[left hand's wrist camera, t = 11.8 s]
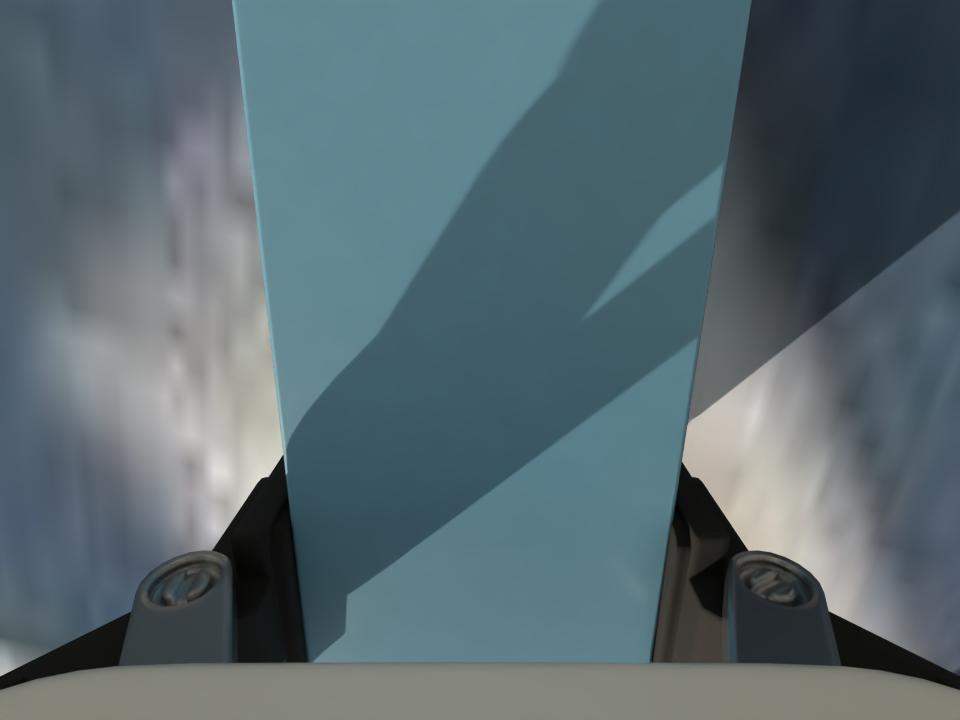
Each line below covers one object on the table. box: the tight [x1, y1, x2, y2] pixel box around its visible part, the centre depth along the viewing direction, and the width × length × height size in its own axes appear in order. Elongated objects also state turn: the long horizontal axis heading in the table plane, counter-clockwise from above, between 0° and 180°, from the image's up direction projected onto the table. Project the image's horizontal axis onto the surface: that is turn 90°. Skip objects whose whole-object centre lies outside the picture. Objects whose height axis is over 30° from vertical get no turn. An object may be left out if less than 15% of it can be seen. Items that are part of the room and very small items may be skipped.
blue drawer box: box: [232, 0, 752, 663], centre depth 11 cm, size 16×6×8 cm, turn 179°
